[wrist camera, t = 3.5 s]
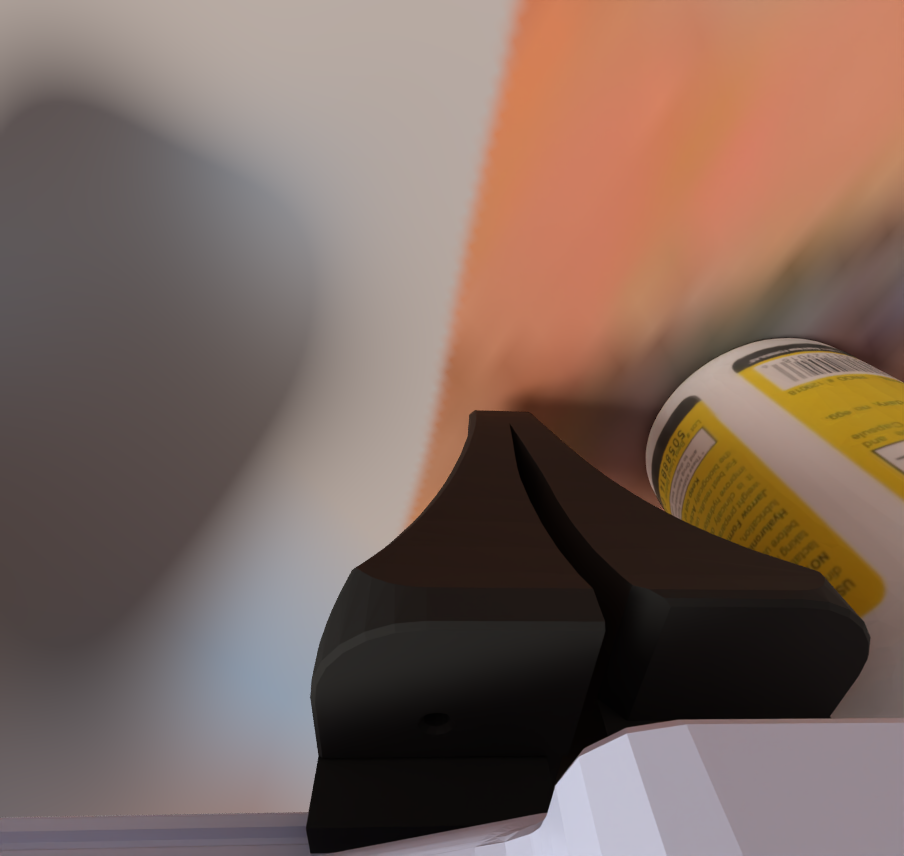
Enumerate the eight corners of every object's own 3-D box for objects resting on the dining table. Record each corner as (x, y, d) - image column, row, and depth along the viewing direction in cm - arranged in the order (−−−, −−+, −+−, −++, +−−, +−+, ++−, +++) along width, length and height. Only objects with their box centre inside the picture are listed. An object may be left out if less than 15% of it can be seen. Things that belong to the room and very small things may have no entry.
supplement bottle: (700, 547, 15) (1061, 1098, 6) (599, 427, 13) (943, 1020, 4) (889, 440, 13) (1713, 988, 5) (810, 281, 11) (2062, 767, 3)
